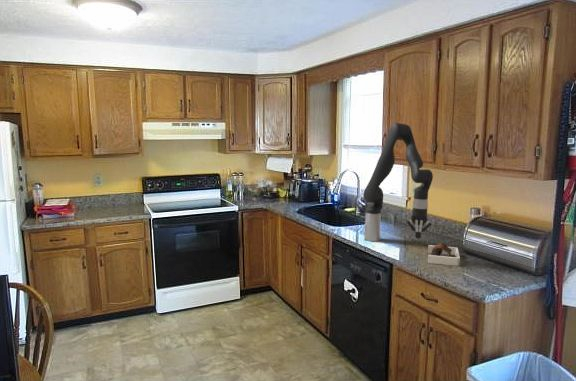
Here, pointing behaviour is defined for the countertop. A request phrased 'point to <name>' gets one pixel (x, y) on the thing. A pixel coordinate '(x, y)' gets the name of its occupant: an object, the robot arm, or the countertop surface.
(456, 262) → the box
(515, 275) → the countertop surface
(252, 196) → the countertop surface
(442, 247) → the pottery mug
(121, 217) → the countertop surface
